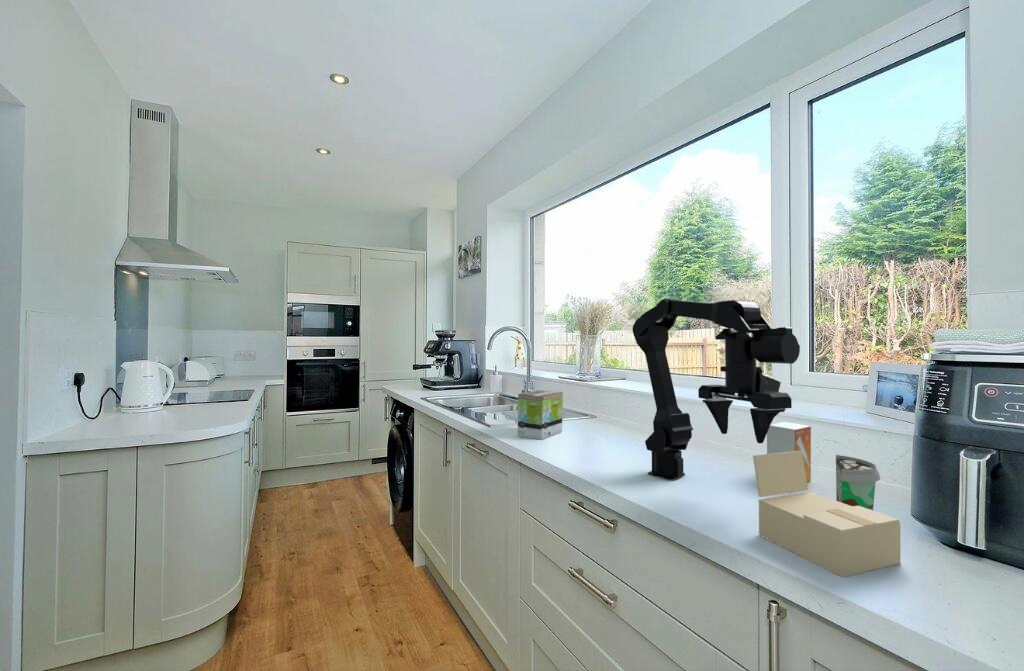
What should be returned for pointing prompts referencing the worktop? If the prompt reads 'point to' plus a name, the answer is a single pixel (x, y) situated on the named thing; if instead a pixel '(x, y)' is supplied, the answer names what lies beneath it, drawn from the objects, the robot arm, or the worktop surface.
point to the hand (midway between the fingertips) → (741, 438)
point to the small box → (791, 441)
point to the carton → (831, 532)
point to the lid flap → (780, 473)
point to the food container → (855, 481)
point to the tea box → (540, 414)
